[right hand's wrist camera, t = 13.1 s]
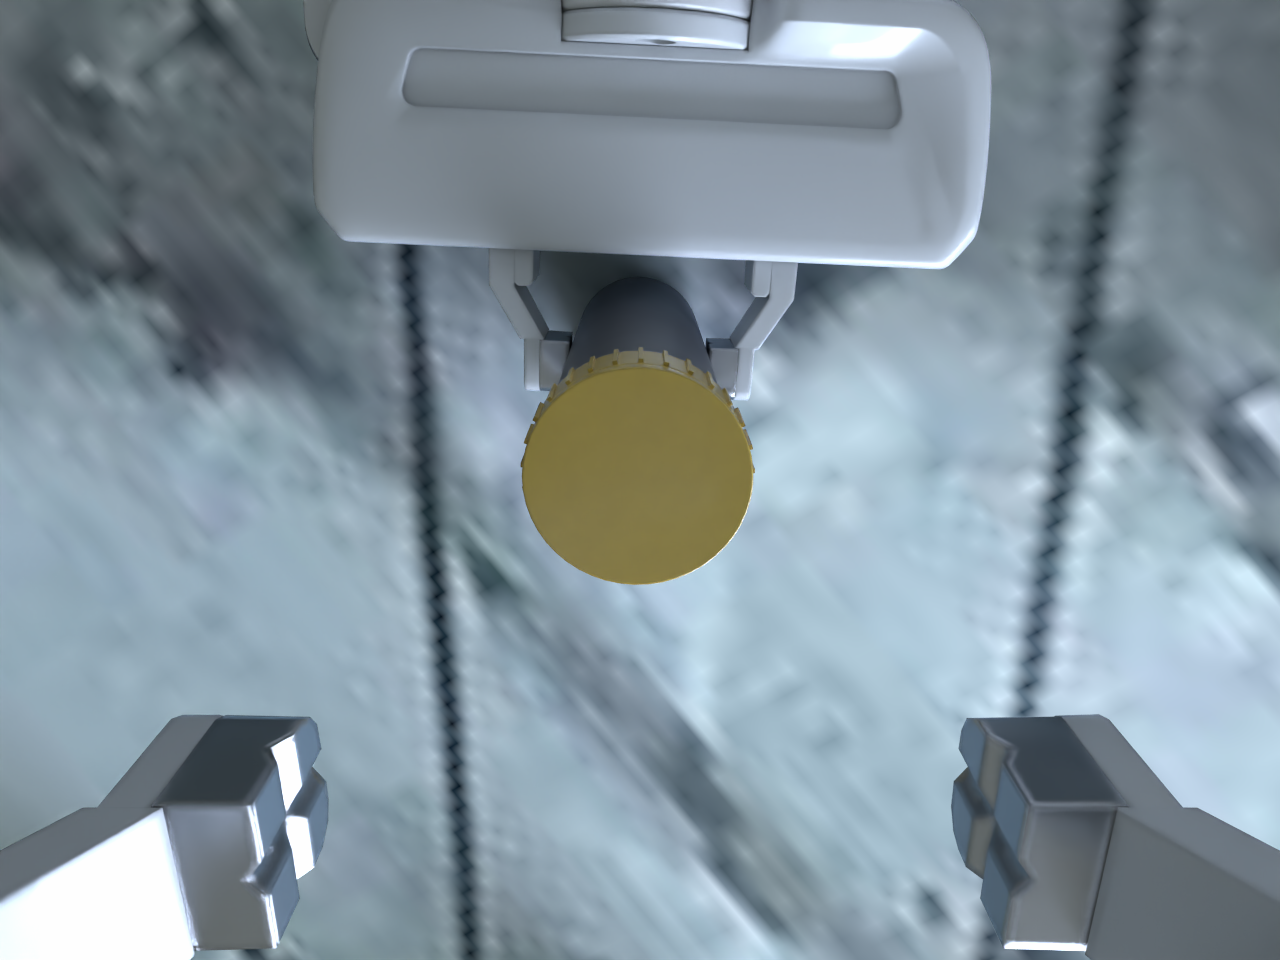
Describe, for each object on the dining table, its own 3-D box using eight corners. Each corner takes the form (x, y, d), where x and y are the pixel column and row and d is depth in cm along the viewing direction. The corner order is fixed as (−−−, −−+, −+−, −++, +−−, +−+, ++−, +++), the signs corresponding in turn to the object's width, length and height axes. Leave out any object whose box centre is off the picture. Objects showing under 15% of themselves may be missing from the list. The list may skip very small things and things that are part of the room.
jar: (564, 376, 36) (510, 537, 21) (597, 261, 34) (564, 344, 19) (677, 409, 36) (703, 591, 21) (713, 297, 35) (771, 407, 20)
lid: (503, 522, 22) (492, 553, 20) (560, 317, 20) (553, 332, 19) (706, 579, 22) (712, 614, 21) (778, 384, 21) (791, 404, 19)
